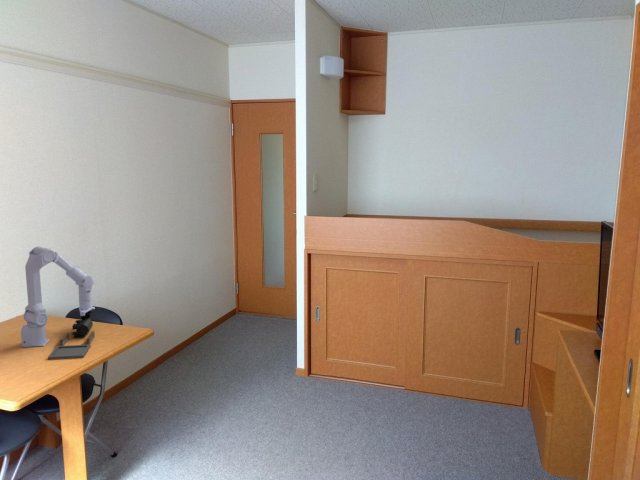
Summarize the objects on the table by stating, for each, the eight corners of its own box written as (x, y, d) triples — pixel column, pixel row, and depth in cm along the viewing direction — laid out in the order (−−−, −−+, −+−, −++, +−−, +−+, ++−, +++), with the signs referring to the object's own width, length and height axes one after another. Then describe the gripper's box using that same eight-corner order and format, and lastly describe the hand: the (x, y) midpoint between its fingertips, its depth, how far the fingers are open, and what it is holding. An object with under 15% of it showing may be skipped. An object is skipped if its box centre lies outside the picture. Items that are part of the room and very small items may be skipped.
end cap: (89, 337, 235) (88, 324, 234) (72, 338, 234) (72, 324, 233) (93, 330, 245) (92, 317, 244) (77, 331, 243) (76, 318, 242)
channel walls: (60, 346, 224) (59, 340, 223) (66, 338, 233) (66, 332, 233) (89, 345, 226) (89, 338, 226) (94, 337, 236) (94, 331, 235)
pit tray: (47, 359, 209) (47, 357, 209) (56, 348, 221) (56, 346, 221) (83, 357, 212) (83, 355, 212) (90, 346, 224) (90, 344, 224)
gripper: (90, 303, 238) (91, 330, 240) (97, 295, 252) (98, 320, 254) (74, 303, 236) (76, 330, 239) (82, 295, 250) (83, 321, 252)
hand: (86, 325), depth 246 cm, fingers closed
